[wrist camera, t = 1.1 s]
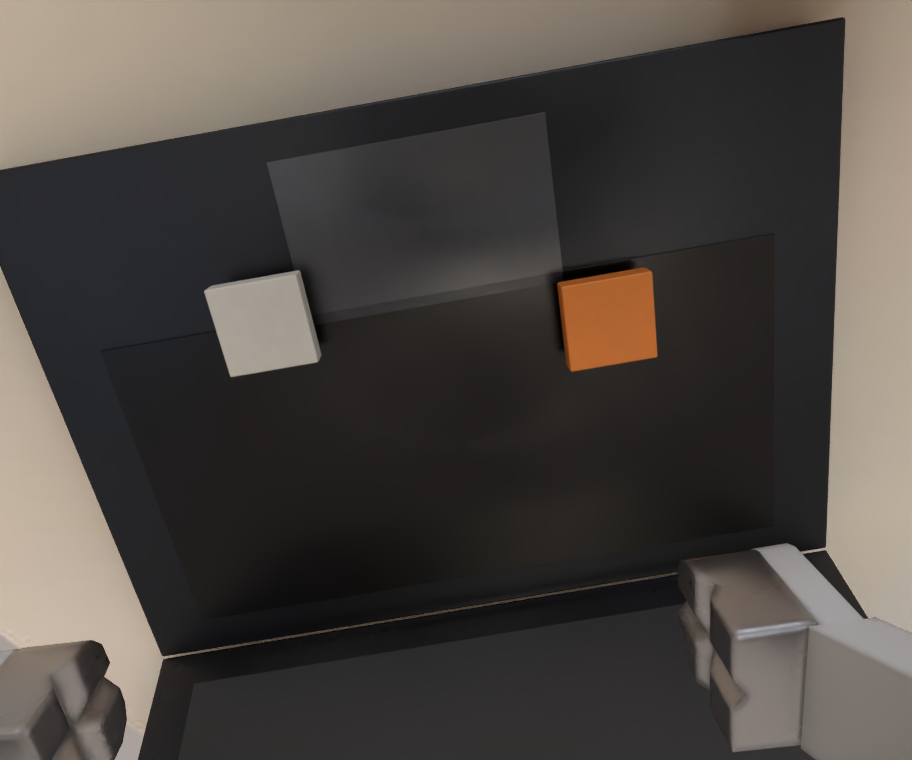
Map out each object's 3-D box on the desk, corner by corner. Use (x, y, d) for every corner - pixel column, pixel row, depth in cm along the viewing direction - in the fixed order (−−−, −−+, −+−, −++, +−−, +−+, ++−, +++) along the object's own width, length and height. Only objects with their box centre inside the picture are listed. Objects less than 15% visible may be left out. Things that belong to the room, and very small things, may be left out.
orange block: (556, 282, 23) (560, 286, 23) (645, 266, 23) (652, 270, 23) (566, 365, 25) (570, 373, 24) (651, 350, 24) (658, 358, 24)
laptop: (-2, 173, 24) (-41, 176, 22) (813, 25, 24) (848, 16, 22) (177, 626, 32) (161, 659, 30) (802, 523, 31) (828, 549, 29)
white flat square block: (210, 285, 23) (203, 290, 22) (300, 269, 23) (296, 274, 22) (236, 370, 24) (230, 378, 23) (322, 355, 24) (318, 362, 23)
